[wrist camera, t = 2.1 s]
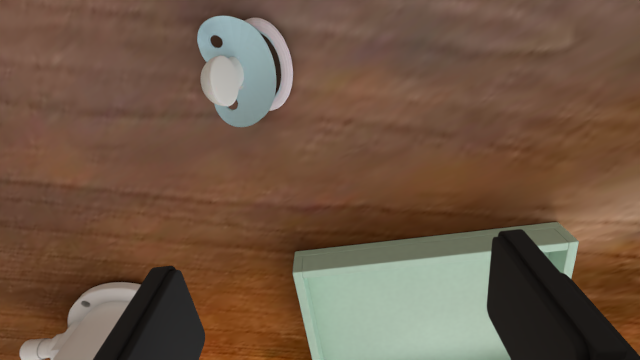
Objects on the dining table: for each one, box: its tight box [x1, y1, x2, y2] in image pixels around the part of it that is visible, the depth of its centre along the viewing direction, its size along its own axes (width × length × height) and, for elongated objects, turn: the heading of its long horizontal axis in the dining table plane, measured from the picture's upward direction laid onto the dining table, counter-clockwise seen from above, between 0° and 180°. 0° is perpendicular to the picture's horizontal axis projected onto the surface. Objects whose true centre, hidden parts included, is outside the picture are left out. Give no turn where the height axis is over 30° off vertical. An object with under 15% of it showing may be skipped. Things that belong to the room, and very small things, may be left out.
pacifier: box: [197, 16, 293, 127], centre depth 24 cm, size 7×6×6 cm
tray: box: [293, 222, 579, 360], centre depth 36 cm, size 24×19×3 cm
